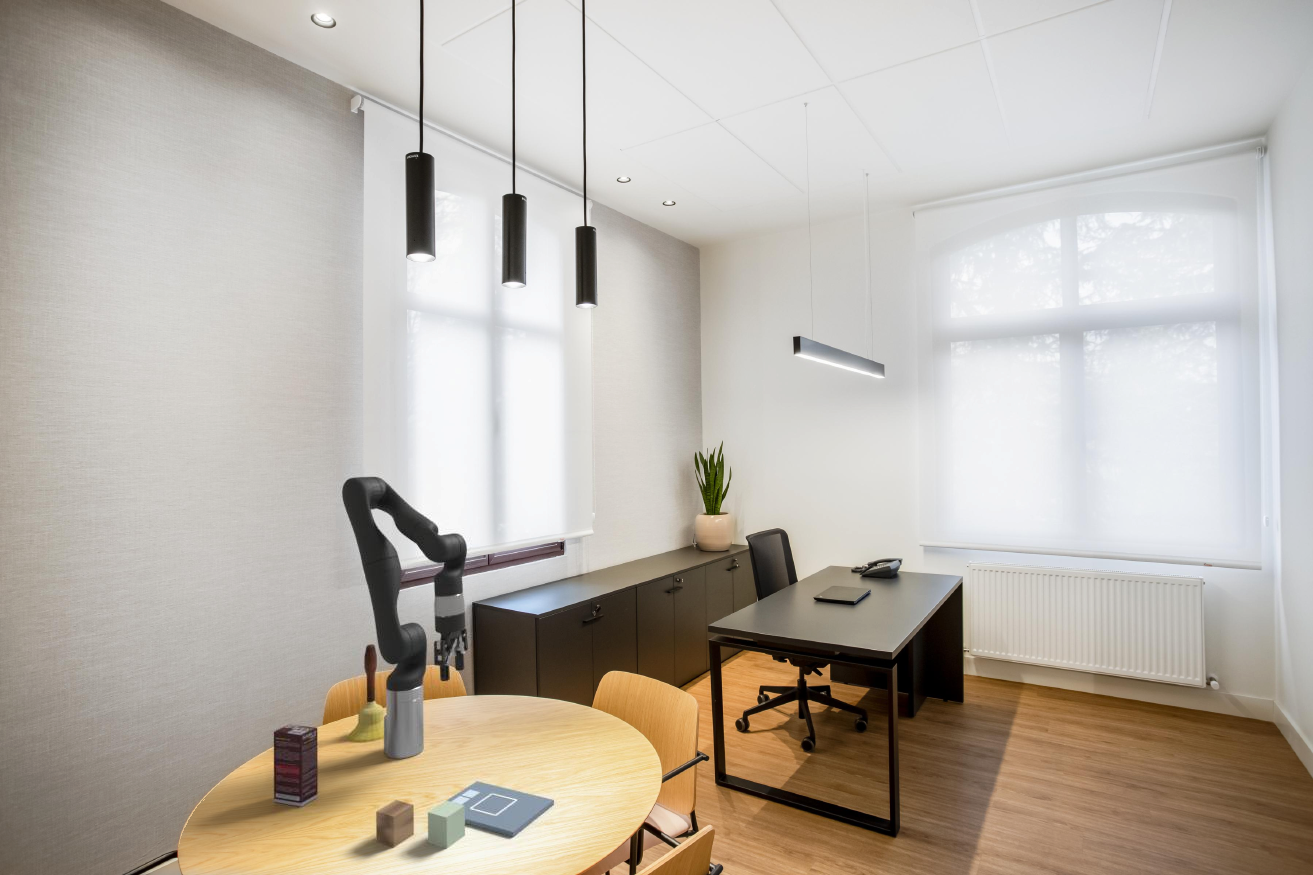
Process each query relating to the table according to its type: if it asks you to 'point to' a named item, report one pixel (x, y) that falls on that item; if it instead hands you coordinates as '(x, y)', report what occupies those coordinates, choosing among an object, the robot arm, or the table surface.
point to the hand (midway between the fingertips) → (452, 675)
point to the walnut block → (394, 823)
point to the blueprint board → (500, 808)
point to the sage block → (446, 824)
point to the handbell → (369, 706)
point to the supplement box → (295, 765)
